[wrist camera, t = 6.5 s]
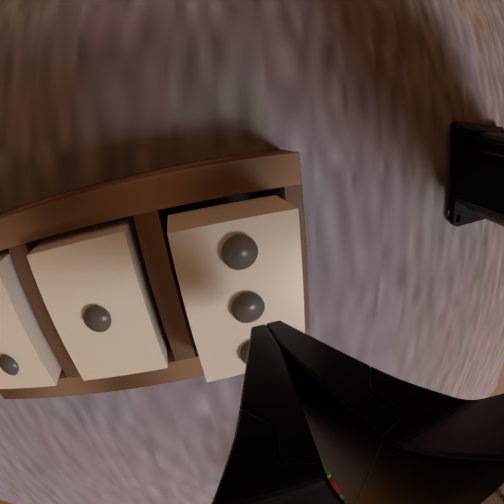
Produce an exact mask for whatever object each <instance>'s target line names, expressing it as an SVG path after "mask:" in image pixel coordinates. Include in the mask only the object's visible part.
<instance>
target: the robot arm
mask: <svg viewBox="0 0 504 504" xmlns="http://www.w3.org/2000/svg"><path fill="white" fill-rule="evenodd" d="M451 151H452V168H451V198H450V213H449V222H450V224H452V225H454V226H461V225H464V224H468V223H472V222H475V221H479V220H483V219H487V220H490V221H492V222H494V223H497V224H499V225H502V226H504V129H503V128H502V127H497V126H490V125H483V124H476V123H467V122H458V121H454V122H453V123H452V125H451ZM320 458H321V459H322V461H323V463H324V465H325V466H326V468H327V470H328V471H329V473H330V475H331V477H332V478H333V480H334V482H335V483H336V485H337V487H338V488H339V490H340V492H341V493H342V495H343V497H344V498H345V500H346V502H347V503H348V504H504V394H501V395H496V396H493V397H488V398H484V399H479V400H465V399H459V398H455V397H451V396H448V395H445V394H442V393H438V392H435V391H432V390H429V389H426V388H423V387H420V386H417V385H414V384H411V383H408V382H406V381H403V380H400V379H398V378H395V377H393V376H391V375H389V374H386V373H384V372H382V371H380V370H378V369H376V368H373V367H370V366H369V365H367V364H365V363H363V362H361V361H359V360H357V359H355V358H353V357H351V356H349V355H347V354H345V353H343V352H341V351H339V350H337V349H335V348H333V347H331V346H329V345H327V344H325V343H323V342H321V341H319V340H317V339H315V338H313V337H311V336H309V335H307V334H305V333H303V332H301V331H299V330H297V329H296V328H294V327H292V326H290V325H288V324H286V323H284V322H282V321H274V322H271V323H267V324H266V325H264V324H263V325H259V326H255V327H252V328H251V333H250V340H249V347H248V355H247V362H246V369H245V376H244V383H243V390H242V397H241V404H240V410H239V416H238V422H237V427H236V432H235V437H234V441H233V444H232V448H231V451H230V455H229V457H228V460H227V463H226V466H225V469H224V472H223V475H222V478H221V480H220V483H219V486H218V489H217V492H216V494H215V497H214V499H213V501H212V504H345V502H344V501H343V500H342V499H341V497H340V496H339V495H338V493H337V492H336V491H335V489H334V488H333V486H332V485H331V483H330V481H329V479H328V477H327V475H326V473H325V470H324V467H323V466H322V462H321V459H320Z"/></svg>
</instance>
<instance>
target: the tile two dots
mask: <svg viewBox="0 0 504 504" xmlns="http://www.w3.org/2000/svg"><path fill="white" fill-rule="evenodd" d="M61 369H62V367H61V365H60V364H59V362H58V360H57V358H56V357H55V355H54V353H53V351H52V349H51V347H50V345H49V344H48V342H47V340H46V338H45V336H44V334H43V332H42V330H41V328H40V326H39V324H38V321H37V319H36V317H35V315H34V313H33V311H32V308H31V306H30V304H29V302H28V299H27V297H26V294H25V292H24V290H23V287H22V285H21V282H20V280H19V277H18V274H17V272H16V269H15V266H14V264H13V261H12V258H11V255H10V252H9V249H5V250H1V251H0V389H17V388H35V387H48V386H56V385H57V382H58V378H59V375H60V372H61Z"/></svg>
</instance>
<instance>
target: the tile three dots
mask: <svg viewBox="0 0 504 504" xmlns="http://www.w3.org/2000/svg"><path fill="white" fill-rule="evenodd" d="M167 235H168V240H169V244H170V249H171V253H172V257H173V261H174V266H175V270H176V274H177V278H178V282H179V286H180V290H181V294H182V298H183V302H184V305H185V309H186V313H187V317H188V320H189V324H190V327H191V331H192V335H193V338H194V342H195V345H196V348H197V352H198V355H199V359H200V362H201V365H202V368H203V372H204V375H205V378H206V381H207V382H211V381H215V380H220V379H224V378H228V377H233V376H237V375H241V374H245V369H246V362H247V355H248V347H249V340H250V333H251V328H252V327H255V326H259V325H263V324H264V325H266V324H267V323H271V322H274V321H282V322H284V323H286V324H288V325H290V326H292V327H294V328H296V329H297V330H299V331H301V332H303V333H305V315H304V291H303V271H302V254H301V238H300V223H299V210H298V208H297V207H295V206H294V205H292V204H290V203H289V202H287V201H285V200H284V199H282V198H280V197H278V196H277V195H272V196H266V197H260V198H254V199H249V200H243V201H238V202H232V203H227V204H221V205H216V206H211V207H206V208H200V209H195V210H190V211H185V212H180V213H176V214H171V215H168V223H167Z"/></svg>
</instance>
